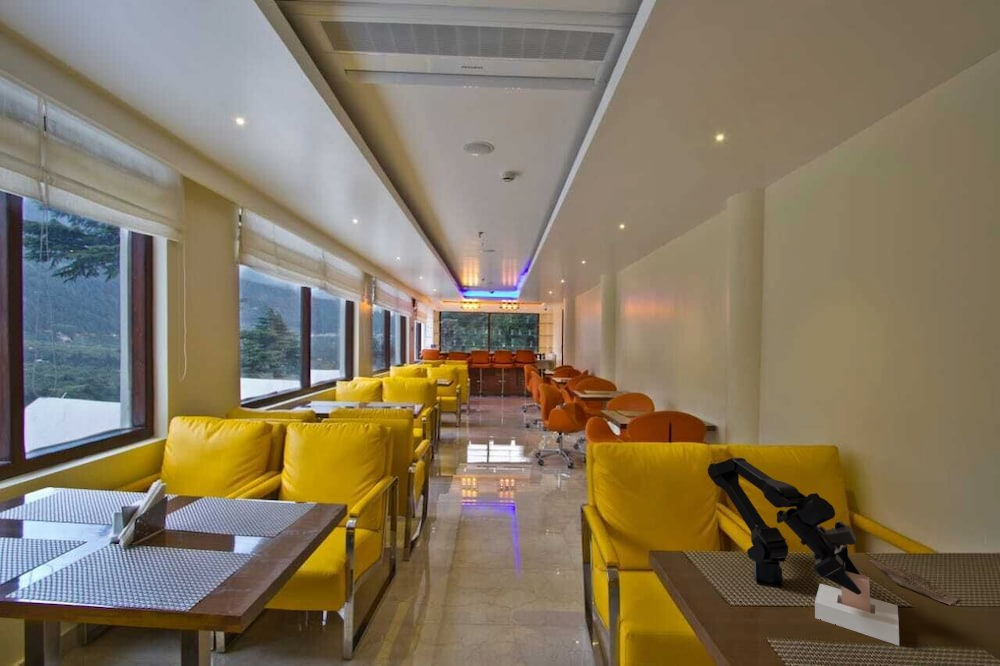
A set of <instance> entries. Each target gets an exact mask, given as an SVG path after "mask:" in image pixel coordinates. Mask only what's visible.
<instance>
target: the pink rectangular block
mask: <svg viewBox="0 0 1000 666" xmlns="http://www.w3.org/2000/svg"><path fill="white" fill-rule="evenodd" d="M846 572H847V571H846ZM847 573H848V575H849V576H850V577H851V579H852V580H853V581H854V583H855V584H856V585H857V586H858V588H859V589H860V591H861V594H859V595H857V594H855V593H854V592H852V591H850V590H848V589H846V588H844V587H843V586H841V585H840V587H841V588H840V589H841V590H842V604H843V605H846V606H850V607H853V608H856V609H860V610H863V611H866V612H869V613H870V598H871V595H870V593H871V592H870V591H871V590H870V577H869V576H865V575H862V574H861V575H858V574H855V573H851V572H847Z"/></svg>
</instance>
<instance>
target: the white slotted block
mask: <svg viewBox="0 0 1000 666" xmlns="http://www.w3.org/2000/svg"><path fill="white" fill-rule="evenodd" d="M817 589H818V590H817V593H816V596H815V599H814V618H815V619H817V620H820V619H821V620H820V621H823V622H826V623H829V624H832V625H835V624H836V625H835V626H838V627H840V628H845V629H847V630H851V631H854V632H857V633H860V634H862V635H866V636H868V637H870V638H874V639H877V640H881V641H883V642H886V643H890V644H893V645H895V646H900V628H899V627H900V626H899V608H898V605H897V604H893V603H890V602H886V601H883V600H879V599H876V598H873V597H870V613H869V612H866V611H863V610H860V609H856V608H853V607H850V606H846V605H843V604H842V588H837V587H834V586H830V585H827V584H823V583H819V586H818V588H817Z"/></svg>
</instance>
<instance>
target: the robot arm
mask: <svg viewBox="0 0 1000 666" xmlns="http://www.w3.org/2000/svg"><path fill="white" fill-rule="evenodd" d="M707 474H708V476H709V478H710V479H711V481H712V482H713V484H714V485H715V486H716V487H719V488H721V489H722V490H723V491H724V492H725V494H727V495H726V496H728V498H729V499H730V501H731V502H732V504H733V505H734V507H735V508H736V510H737V512H738V513H739V515H740V517H741V518H742V520H743V521H744V523H745V525H746V526H747V528H748V530H749V531H750V539H751V542H750V543H751V544H752V546H751V547H749V548H748V549H746V552H747V556H748V558H749V559H750V560H752V561H753V572H752V575H753V579H754V580H755V582H756V584H757V585H763V586H768V587H776V588H783V585H782V584H783V568H782V567H781V563H782V562H783V563H784V562H785V561H786V559H787V557H788V555H789V545H788V544H787V539H786V538H785V537H784V535H782V533H781V531H780V529H778V527H776V526H773V527H771V526H769V525H768V524H766V522H765V521H764V519H763V518H762V516H761V514H760V513H759V511H758V510H757V509H756V507H755V505H754V504H753V502H752V501H751V500H750V498H749V496H748V495H747V494H746V493H745V491H744V489H743V488H742V486H741V484H740V479H739V478H740V476H741V478H743V479H745V480H746V481H747V482H749V484H751V485H753V486H754V487H756V488H757V489H758V490H760V491H761V492H762V494H763V496H764V499H766V500H767V502H769V503H770V504H771V505H772V507H775V508H778V509H780V508H781V509H780V510H779V511H777V512H776V523H777V524H781V523H783V522H784V523H785V524H786V525H787V526H788V528H789V529H790V530H791V531H792V532H793V533H794V534H795V535H796V536H797V537H798V538H799V539H800V543H801V545H803V546H805V545H806V546H807V548H808V549H809V550H810V551H811V552H812V553H813V558H815V559H816V560H815V563H814V567H813V568H814V572H815V573H816V575H818V576H819V577H820V578H823V579H825V580H826V579H827V580H829V581H831V582H833V583H835V584H837V585H839V586H840V587H841V586H843V587H844V588H846V589H848V590H850V591H852V592H854V593H855V594H857V595H859V594H861V591H860V589H859V588H858V586H857V585H856V584H855V583H854V581H853V580H852V579H851V577H850V576H849V575H848V573H847V572H851V573H855V574H858V575H862V574H861V572H860V571H859V569H858V567H857V566H856V564H855V563H854V562H853V560H852V559H851V557H850V555H849V546H853V545H856V544H857V539H858V538H857V537H856V535H855V534H854V532H853V528H851V527H850V526H849V525H847V524H845V522H843V521H835V523H834V528H833V527H831V528H830V529H826V528H825V527H824V526H821V524H823V523H826V522H828V521H831V520H832V519H834V518H835V517H836V511H835V508H834V506H833V505H832V504H831V503H830V502H829V501H828V500H826V499H825V498H823V497H821V496H820V495H819V494H818V493H817V492H813V493H810V494H808V495H805V494H803V493H802V492H800V491H799V489H798V488H797V487H795V486H794V485H791V484H790V483H788V482H786V481H782V480H777V479H774V478H772V477H771V476H770V475H768V474H766V473H765V472H763V471H761V470H760V469H759V468H758V467H756V466H754V465H752V464H751V463H750V462H748V460H746V459H745V458H743V457H731V458H729V459H726V460H723V461H721V462H714V463H710V464H709V466H708V468H707ZM782 508H785V509H787V508H788V509H787V510H782ZM780 562H781V563H780ZM846 571H847V572H846Z"/></svg>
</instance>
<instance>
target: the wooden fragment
mask: <svg viewBox="0 0 1000 666" xmlns="http://www.w3.org/2000/svg"><path fill="white" fill-rule="evenodd" d="M869 561H870V562H871V563H872V564H873V565H875V566H876V567H877V568H878V569H879V570H881V571H882V572H883V573H885V574H886V575H887V576H888V577H889V578H890V579H891V580H892V581H893V582H894V583H896V584H897V585H898V586H899V587H900V586H901V587H904V588H906V589H909V590H910V591H911V590H912V591H914V592H917V593H918V594H921V595H923V596H925V597H929V598H930V599H933V600H936V601H938V602H942V603H944V604H947V605H949V607H952V606H955V605H954V604H956V603H957V601H958V602H959V599H958V598H959V597H958V596H955V595H954V594H952V593H950V592H948V591H944V590H942V589H941V588H940V587H938V586H934V585H932V584H931V582H929V580H928V579H927V578H925V577H923V576H921V575H918V574H916V573H913V572H910V571H909V570H907V569H903V568H902V567H899V566H897V565H894V566H893V565H891V564H885V563H883V562H882V561H877V560H876V561H875V560H873V559H869ZM951 605H952V606H951ZM956 605H957V604H956Z"/></svg>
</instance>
